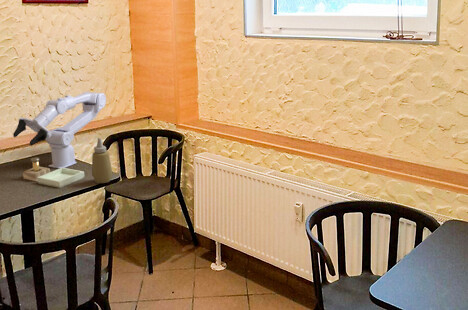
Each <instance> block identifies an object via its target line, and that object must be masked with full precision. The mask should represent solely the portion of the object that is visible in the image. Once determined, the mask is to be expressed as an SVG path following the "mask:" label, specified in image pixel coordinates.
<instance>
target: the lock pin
mask: <svg viewBox="0 0 468 310" xmlns="http://www.w3.org/2000/svg"><path fill="white" fill-rule="evenodd" d="M30 161H31V162H32V163H31V164H32V168H33V171H34V172H38V171H40V170H39V167H40V163H39V161H40V157H32V158H30Z"/></svg>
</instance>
